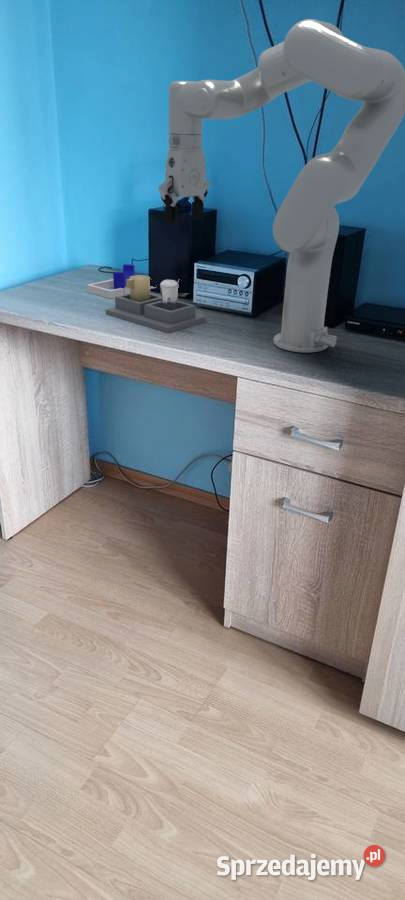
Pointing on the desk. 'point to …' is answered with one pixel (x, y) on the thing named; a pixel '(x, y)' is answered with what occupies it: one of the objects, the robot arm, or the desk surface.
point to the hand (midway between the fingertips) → (184, 221)
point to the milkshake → (169, 294)
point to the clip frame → (102, 290)
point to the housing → (152, 308)
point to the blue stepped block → (123, 276)
